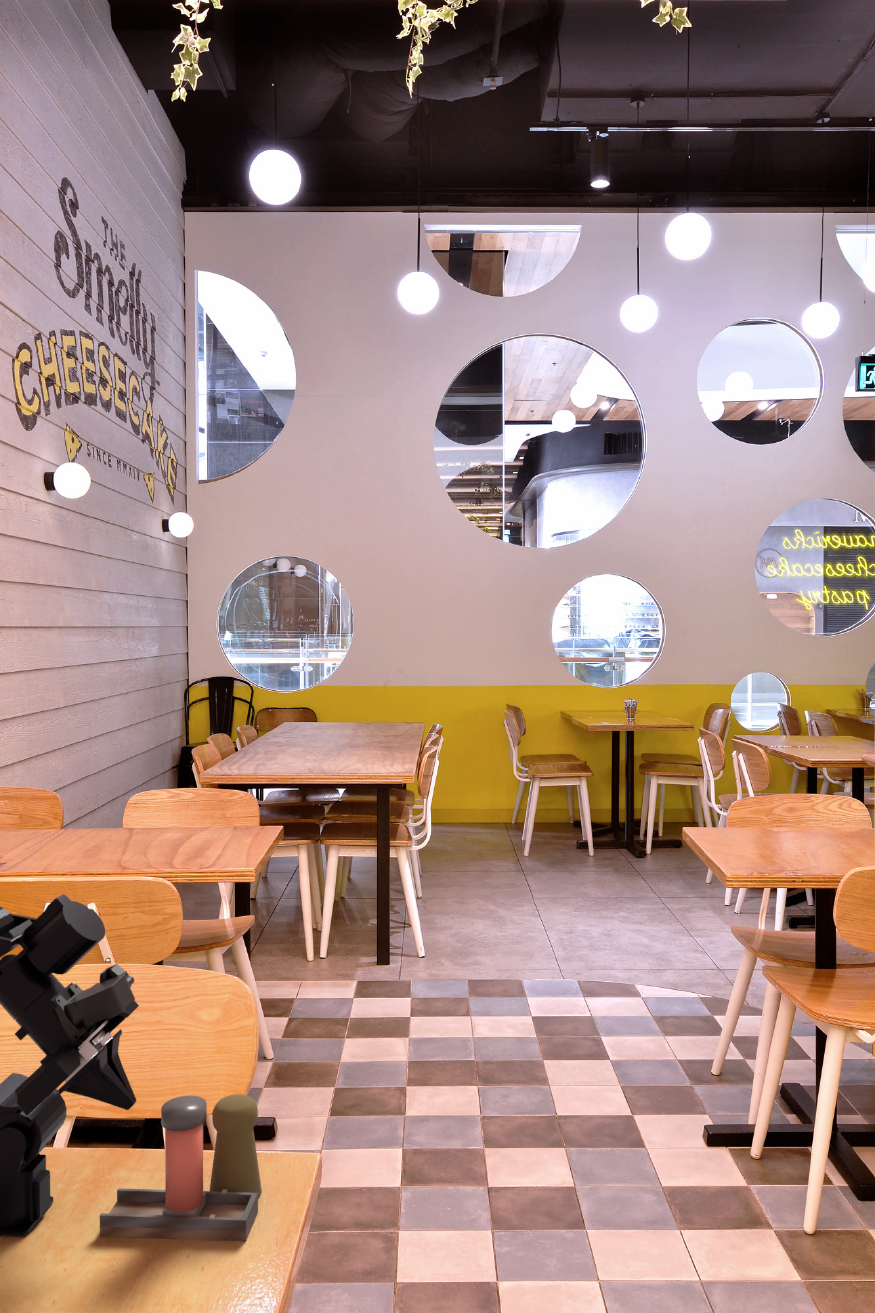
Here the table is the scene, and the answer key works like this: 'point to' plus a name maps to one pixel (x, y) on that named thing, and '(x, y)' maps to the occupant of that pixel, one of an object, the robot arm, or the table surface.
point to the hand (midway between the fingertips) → (132, 1105)
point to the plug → (184, 1155)
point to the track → (145, 1216)
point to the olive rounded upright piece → (235, 1146)
